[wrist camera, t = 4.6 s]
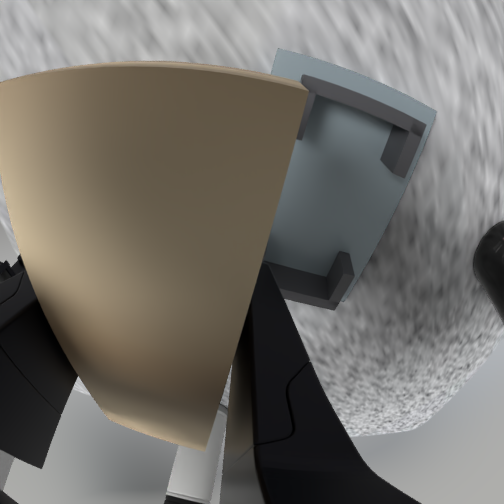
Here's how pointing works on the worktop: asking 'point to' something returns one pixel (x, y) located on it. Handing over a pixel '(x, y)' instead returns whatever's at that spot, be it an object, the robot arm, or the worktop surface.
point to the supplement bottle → (492, 266)
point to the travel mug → (197, 468)
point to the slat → (147, 223)
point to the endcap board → (340, 178)
